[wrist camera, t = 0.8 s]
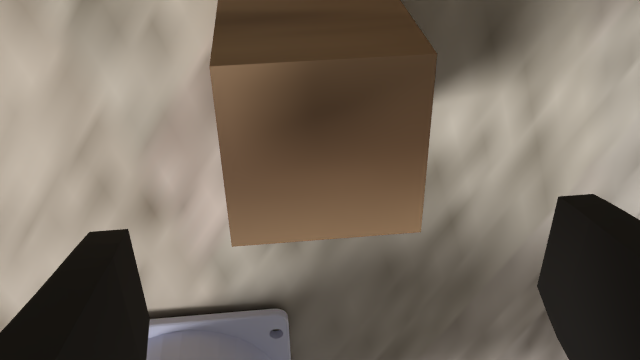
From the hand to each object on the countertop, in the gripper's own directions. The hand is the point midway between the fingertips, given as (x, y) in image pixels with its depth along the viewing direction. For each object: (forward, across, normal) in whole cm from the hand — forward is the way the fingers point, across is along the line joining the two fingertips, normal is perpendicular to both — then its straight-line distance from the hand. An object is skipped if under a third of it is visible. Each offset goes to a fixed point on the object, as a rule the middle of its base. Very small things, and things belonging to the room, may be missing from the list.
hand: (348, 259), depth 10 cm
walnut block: (+9, 0, 0) cm, 9 cm away
